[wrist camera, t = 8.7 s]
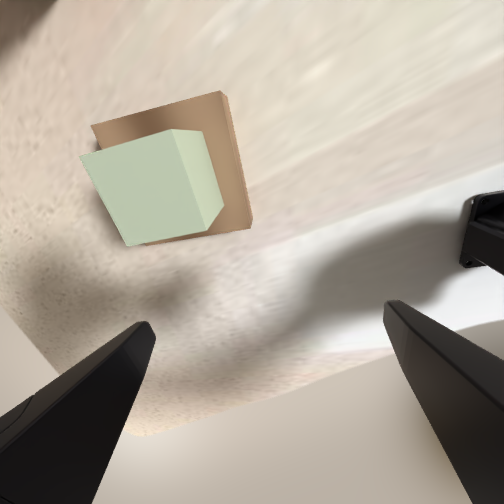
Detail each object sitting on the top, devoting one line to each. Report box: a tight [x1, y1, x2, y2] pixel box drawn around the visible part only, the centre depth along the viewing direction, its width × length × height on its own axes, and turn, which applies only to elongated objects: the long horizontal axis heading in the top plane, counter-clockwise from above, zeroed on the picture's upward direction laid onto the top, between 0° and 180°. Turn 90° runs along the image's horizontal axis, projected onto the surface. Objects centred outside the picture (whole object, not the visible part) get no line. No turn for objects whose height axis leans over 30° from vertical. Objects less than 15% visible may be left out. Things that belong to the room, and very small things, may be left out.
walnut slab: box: [91, 91, 253, 246], centre depth 17 cm, size 9×9×3 cm
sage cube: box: [79, 129, 224, 247], centre depth 14 cm, size 5×5×5 cm
